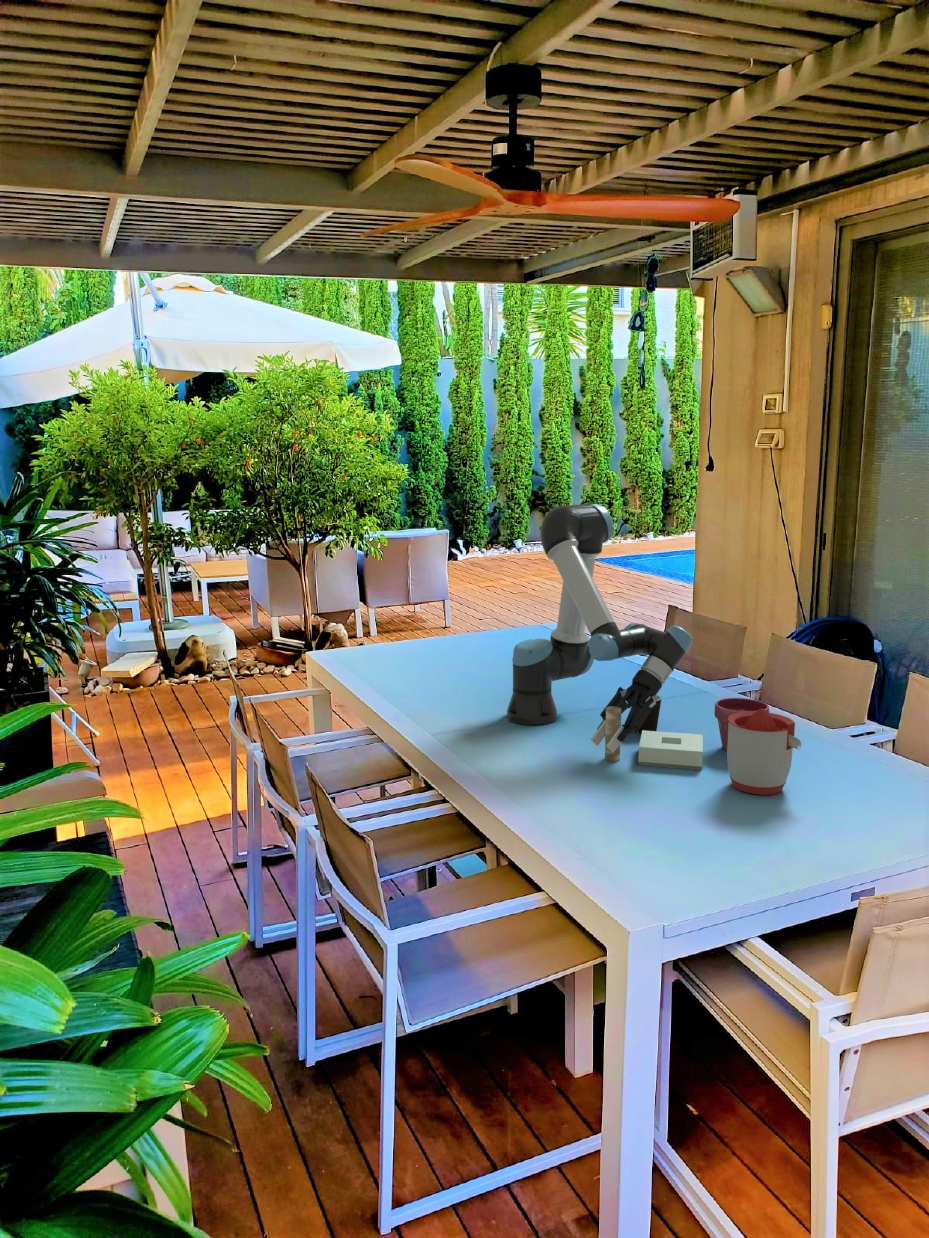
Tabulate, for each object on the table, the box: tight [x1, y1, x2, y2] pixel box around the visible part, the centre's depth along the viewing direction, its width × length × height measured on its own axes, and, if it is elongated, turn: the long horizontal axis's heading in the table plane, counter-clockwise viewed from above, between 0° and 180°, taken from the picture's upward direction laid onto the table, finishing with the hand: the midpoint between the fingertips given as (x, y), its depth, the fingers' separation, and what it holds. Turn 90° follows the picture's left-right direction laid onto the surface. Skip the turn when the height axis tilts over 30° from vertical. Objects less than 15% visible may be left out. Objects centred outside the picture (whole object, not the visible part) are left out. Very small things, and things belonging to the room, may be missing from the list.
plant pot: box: [714, 697, 770, 752], centre depth 257 cm, size 14×14×13 cm
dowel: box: [604, 706, 622, 763], centre depth 250 cm, size 4×4×14 cm
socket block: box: [637, 730, 704, 771], centre depth 251 cm, size 16×14×5 cm
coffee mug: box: [635, 694, 663, 734], centre depth 275 cm, size 12×9×10 cm
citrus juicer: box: [726, 709, 802, 796], centre depth 229 cm, size 16×17×20 cm
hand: (601, 745), depth 248 cm, fingers open, 6 cm apart
